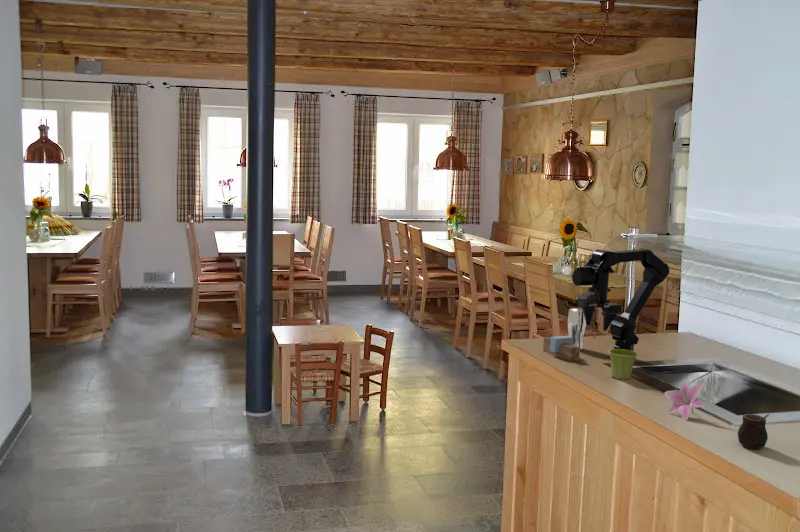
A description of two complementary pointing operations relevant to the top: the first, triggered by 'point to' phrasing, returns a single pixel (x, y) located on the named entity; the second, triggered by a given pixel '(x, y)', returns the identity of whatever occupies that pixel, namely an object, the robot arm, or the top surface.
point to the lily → (685, 399)
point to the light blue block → (559, 342)
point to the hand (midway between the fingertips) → (596, 327)
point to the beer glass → (576, 326)
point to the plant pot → (622, 363)
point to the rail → (563, 351)
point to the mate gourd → (753, 431)
